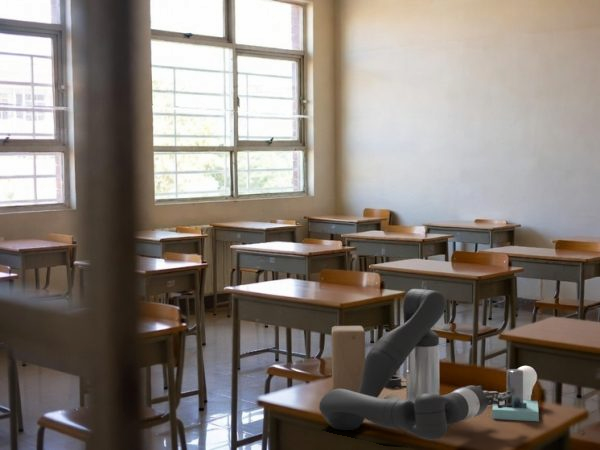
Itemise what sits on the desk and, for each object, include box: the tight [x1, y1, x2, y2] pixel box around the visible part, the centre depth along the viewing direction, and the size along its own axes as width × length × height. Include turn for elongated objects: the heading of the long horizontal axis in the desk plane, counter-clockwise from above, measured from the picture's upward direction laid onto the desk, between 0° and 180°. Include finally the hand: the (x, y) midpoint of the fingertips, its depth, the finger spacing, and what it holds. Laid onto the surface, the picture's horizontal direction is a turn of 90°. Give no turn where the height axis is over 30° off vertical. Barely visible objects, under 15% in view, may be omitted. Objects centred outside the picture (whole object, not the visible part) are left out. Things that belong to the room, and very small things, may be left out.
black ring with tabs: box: [384, 375, 406, 389], centre depth 254 cm, size 8×10×3 cm
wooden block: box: [331, 325, 366, 393], centre depth 247 cm, size 10×10×20 cm
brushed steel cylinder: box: [506, 368, 523, 408], centre depth 219 cm, size 4×4×12 cm
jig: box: [491, 399, 540, 422], centre depth 219 cm, size 12×12×2 cm
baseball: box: [384, 393, 404, 400], centre depth 216 cm, size 7×7×7 cm
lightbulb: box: [517, 365, 538, 401], centre depth 230 cm, size 6×6×11 cm
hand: (495, 392), depth 210 cm, fingers open, 8 cm apart
